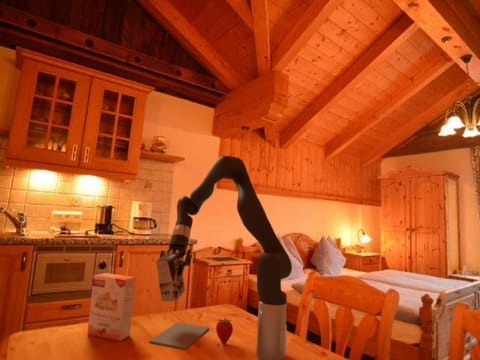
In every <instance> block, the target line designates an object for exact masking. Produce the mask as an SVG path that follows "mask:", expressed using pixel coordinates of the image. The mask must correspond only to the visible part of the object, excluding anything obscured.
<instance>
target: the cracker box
mask: <svg viewBox="0 0 480 360" xmlns="http://www.w3.org/2000/svg"><path fill="white" fill-rule="evenodd" d="M92 279H93V280H92V286H91V287H92V288H91V297H90V298H91V299H90V304H89V305H90V307H89V315H88V316H89V317H88V323H87V336H91V337H92V336H93V337H98V338H102V339H106V340H111V341H115V342H121V341H123V340H125V339H127V338H128V337H130V335H131V328H132V327H131V325H132V317H133V304H134V296H135V286H136V285H135V283H136V277H135V276H128V275H122V274H116V273H115V274H114V273H108V272H103V273H98V274H94V275H93V278H92Z"/></svg>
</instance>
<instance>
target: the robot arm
mask: <svg viewBox="0 0 480 360" xmlns="http://www.w3.org/2000/svg"><path fill="white" fill-rule="evenodd" d="M223 179H225V180H232V181H233V183H234V185H235V187H236V190H237V192H238V193H237V195H238V196H237V203H236V210H237V213H238V215H239V218H240V220H241V223H242V224H243V227H244V228H245V229H246V230H247V231H248V233H249V234H251V236H252V237H253V238H254V239H255V240H256V241H257V242H258V244H259V245H260V247H261V248H262V250H263V254H262V255H261V256H260V257H259V258H258V261H257V264H256V290H257V294H258V314H257V331H256V333H257V334H256V335H257V336H256V357H257V358H258V359H259V360H285V358H286V356H287V355H286V354H287V333H288V332H287V328H288V325H287V299H288V298H287V297H288V295H287V293H286V292H285V291H283V290H282V280H284V279H287V278H288V277H289V276H290V275H291V274H292V270H293V266H292V265H293V264H292V261H291V259H290V256H289V255H288V253H287V251H286V250H285V248H284V246H283V245H282V243H281V242H280V240H279V238H278V236H277V234H276V233H275V230H274V228H273V226H272V224H271V222H270V221H269V217H268V216H267V213H266V211H265V209H264V207H263V205H262V203H261V200H260V199H259V197H258V195H257V193H256V190H255V189H254V186H253V183H252V182H251V179H250V176H249V173H248V170H247V167H246V165H245V163H244V160H243V159H241V158H240V157H237V156H232V155H231V156H230V155H221V156H220V157H218V158H217V159H216V161H215V162H214V164H213V165H212V166H211V168H210V170H209V171H208V172H207V174H206V176H205V177H204V179H203V180H202V181H201V182H200V183H199V184H198V186H196V188H194V189H193V191H191V193H190V195H189V196H190V197H189V196H187V195H183V196H181V197H179V199H178V201H177V204H176V220H175V224H174V225H175V226H174V229H173V230H172V233H171V238H170V241H169V245H168V246H169V247H168V250H161V251H160V254H159V259H160V258H161V257H162V256H164V255H165V254H170V253H180V256H179V263H180V265H179V268H178V272H177V275H178V276H181V275H182V274H183V275H184V271H185V268H186V267H188V266H190V264H191V261H192V258H193V255H194V254H193V251H192V250H191V249H188V245H189V242H190V238H191V231H192V227H193V221H194V220H193V217H192V216H196V215H197V214H198V213H199V212H200V210H201V208H202V206H203V204H204V203H205V202H206V201H207V200H209V198H210V197H211V196H212V195H213V193H214V191H215V185H216V184H217V183H218V182H219V181H221V180H223ZM184 257H185V259H184ZM159 259H158V260H159Z"/></svg>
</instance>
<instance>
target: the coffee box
mask: <svg viewBox="0 0 480 360" xmlns="http://www.w3.org/2000/svg"><path fill="white" fill-rule="evenodd" d="M179 256H180V253H170V254H165V255H164V256H162V257H161V258H160V257H159V258H160V259H157V260H156V261H155V263H156V271H157V277H158V284H159V291H160V298H161V302H177V301H178V300H179V299H180V297H182V295H183V294H184V293H185V291H186V288H185V279H184V273H183V274H182V275H181V276H178V275H177V272H178V268H179V265H180V263H179Z"/></svg>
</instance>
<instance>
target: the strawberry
mask: <svg viewBox="0 0 480 360" xmlns="http://www.w3.org/2000/svg"><path fill="white" fill-rule="evenodd" d="M223 317H224V318H223V319H217V321H218V323H217V324H216V327H215V329H216V330H215V331H216V334H217V337H218V338H219V340H220V342H221V344H222V345H224V346H226V344H227V343H228V341H230V340H229V339H230V338H231V336H232V334H233V331H234V327H233V324H232V322H231V321H232V320H231V319H227V318H226V316H225V315H223Z"/></svg>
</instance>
